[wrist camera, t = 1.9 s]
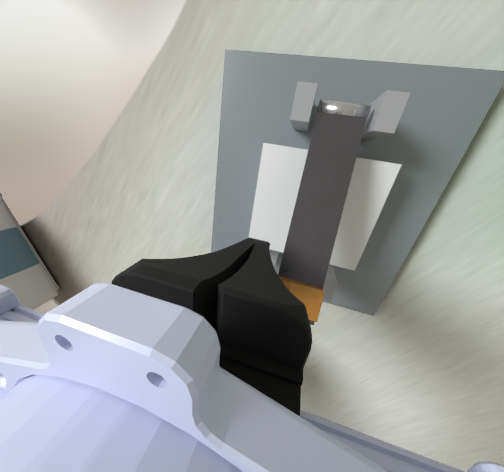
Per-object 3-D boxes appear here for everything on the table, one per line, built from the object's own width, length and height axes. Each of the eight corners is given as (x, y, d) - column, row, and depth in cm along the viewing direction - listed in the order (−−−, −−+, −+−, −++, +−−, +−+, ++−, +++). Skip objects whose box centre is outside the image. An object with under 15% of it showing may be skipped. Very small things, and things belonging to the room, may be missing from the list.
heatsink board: (370, 308, 23) (391, 357, 17) (213, 264, 26) (189, 294, 21) (494, 78, 14) (623, 24, 8) (230, 56, 17) (194, 7, 11)
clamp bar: (312, 320, 13) (315, 329, 12) (269, 307, 14) (267, 315, 13) (365, 111, 13) (375, 96, 11) (318, 105, 13) (322, 90, 12)
